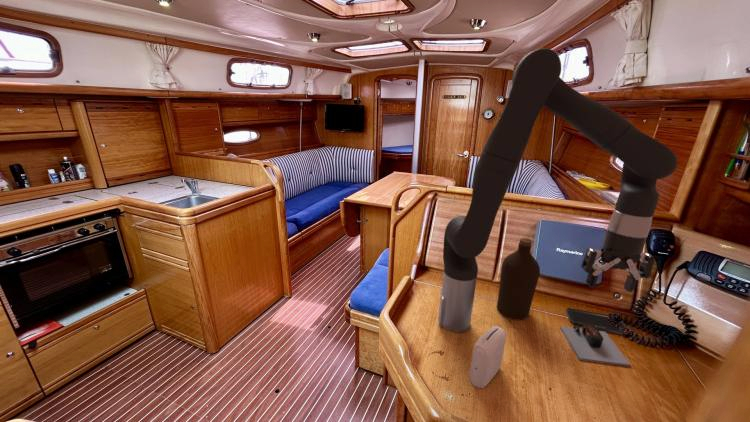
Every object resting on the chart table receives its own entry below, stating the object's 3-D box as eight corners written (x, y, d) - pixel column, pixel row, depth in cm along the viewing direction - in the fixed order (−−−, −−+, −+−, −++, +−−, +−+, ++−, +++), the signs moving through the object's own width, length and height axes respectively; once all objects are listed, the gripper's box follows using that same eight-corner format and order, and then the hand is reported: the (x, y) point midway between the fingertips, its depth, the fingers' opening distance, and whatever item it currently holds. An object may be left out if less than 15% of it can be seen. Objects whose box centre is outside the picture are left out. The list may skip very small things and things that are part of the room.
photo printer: (482, 392, 69) (490, 350, 65) (466, 380, 72) (472, 339, 68) (502, 367, 76) (510, 327, 72) (486, 357, 79) (493, 318, 75)
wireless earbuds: (589, 331, 88) (592, 322, 87) (601, 349, 81) (604, 339, 80) (572, 328, 89) (574, 319, 88) (582, 346, 82) (584, 336, 81)
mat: (578, 359, 79) (579, 357, 78) (560, 328, 90) (560, 326, 90) (630, 366, 77) (630, 364, 76) (604, 333, 88) (605, 331, 88)
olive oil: (520, 326, 90) (536, 251, 82) (488, 309, 98) (499, 238, 90) (536, 312, 96) (552, 241, 88) (505, 296, 104) (517, 230, 96)
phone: (565, 307, 98) (620, 317, 93) (564, 310, 98) (619, 320, 94) (571, 322, 91) (631, 334, 86) (570, 325, 91) (630, 337, 87)
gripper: (650, 226, 74) (630, 283, 80) (587, 222, 77) (572, 277, 82) (673, 239, 67) (650, 300, 73) (603, 233, 70) (585, 293, 75)
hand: (608, 288), depth 77 cm, fingers open, 8 cm apart
